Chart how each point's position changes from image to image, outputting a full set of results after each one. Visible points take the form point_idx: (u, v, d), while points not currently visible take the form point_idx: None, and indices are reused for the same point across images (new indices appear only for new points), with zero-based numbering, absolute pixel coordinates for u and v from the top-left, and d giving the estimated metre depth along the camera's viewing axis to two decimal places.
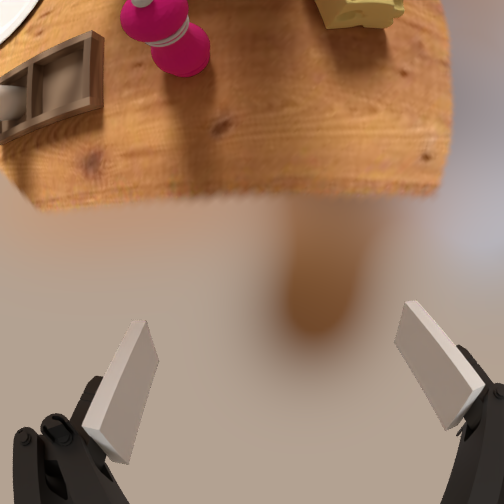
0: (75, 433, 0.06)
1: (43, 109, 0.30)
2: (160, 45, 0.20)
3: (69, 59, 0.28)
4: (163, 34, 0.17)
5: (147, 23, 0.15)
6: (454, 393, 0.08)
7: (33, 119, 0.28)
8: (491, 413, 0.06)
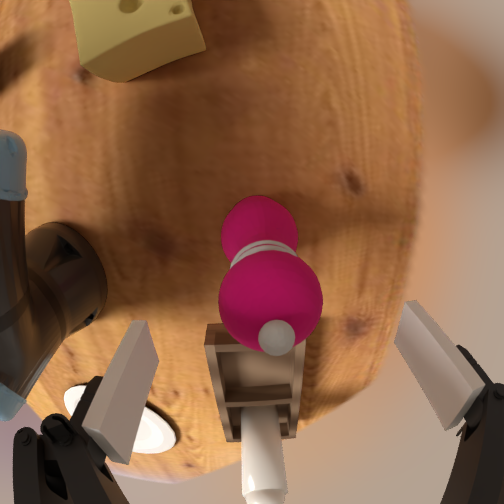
0: (75, 433, 0.06)
1: (280, 383, 0.39)
2: None
3: (229, 361, 0.37)
4: None
5: (314, 316, 0.14)
6: (454, 393, 0.08)
7: (294, 396, 0.36)
8: (491, 413, 0.06)
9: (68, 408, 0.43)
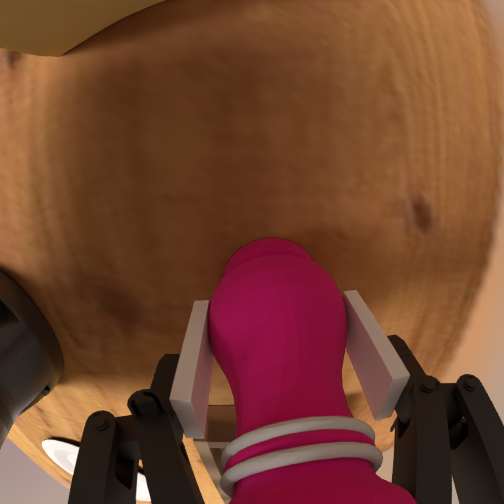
0: (164, 411, 0.08)
1: None
2: None
3: None
4: None
5: None
6: (379, 381, 0.09)
7: None
8: (421, 409, 0.07)
9: (48, 454, 0.31)
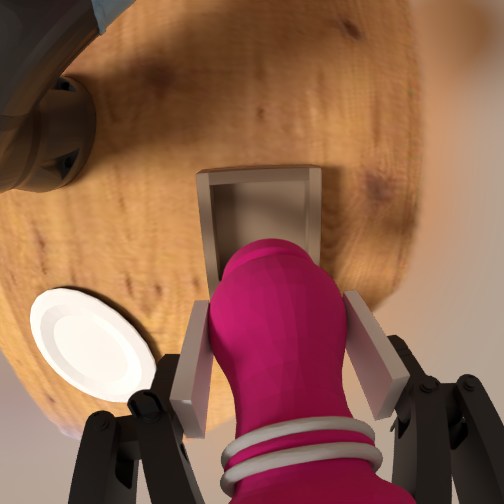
0: (164, 411, 0.08)
1: None
2: None
3: (226, 220, 0.31)
4: None
5: None
6: (379, 381, 0.09)
7: None
8: (421, 409, 0.07)
9: (34, 334, 0.37)
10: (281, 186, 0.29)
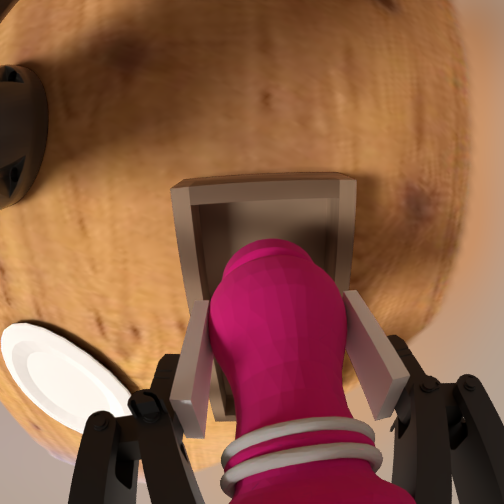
0: (164, 411, 0.08)
1: None
2: None
3: (217, 251, 0.22)
4: None
5: None
6: (379, 382, 0.09)
7: None
8: (421, 409, 0.07)
9: (8, 366, 0.28)
10: (296, 203, 0.21)
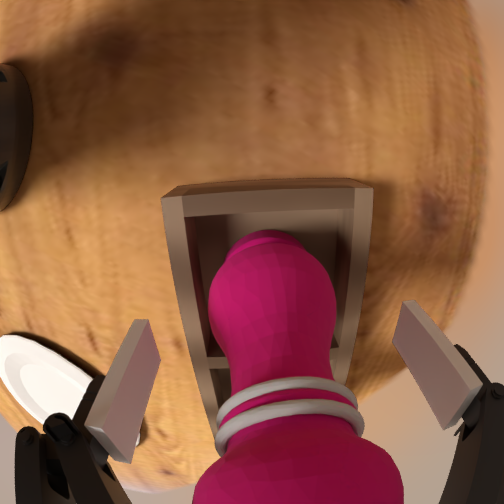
0: (78, 432, 0.06)
1: None
2: None
3: (216, 266, 0.20)
4: (402, 484, 0.05)
5: None
6: (452, 392, 0.08)
7: (343, 342, 0.19)
8: (489, 413, 0.06)
9: (2, 377, 0.26)
10: (303, 213, 0.19)
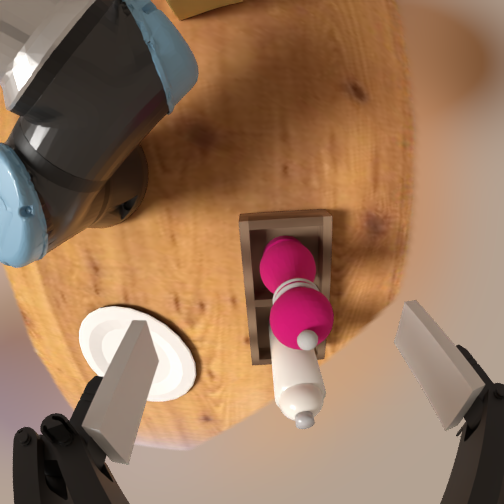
0: (75, 433, 0.06)
1: None
2: None
3: (259, 253, 0.40)
4: None
5: (328, 327, 0.24)
6: (454, 393, 0.08)
7: (323, 292, 0.39)
8: (491, 413, 0.06)
9: (82, 345, 0.47)
10: (301, 227, 0.39)
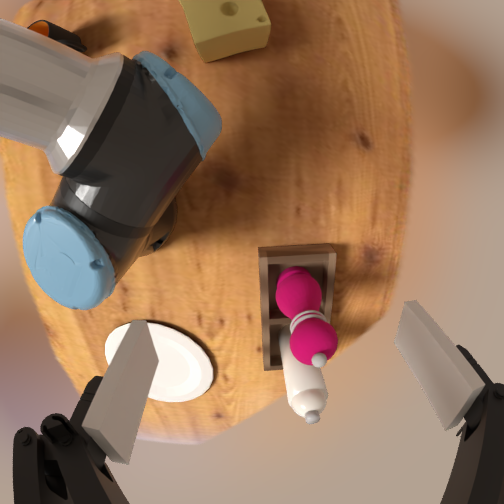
0: (75, 433, 0.06)
1: None
2: None
3: (273, 280, 0.48)
4: (336, 335, 0.33)
5: (334, 350, 0.31)
6: (454, 393, 0.08)
7: (326, 312, 0.47)
8: (491, 413, 0.06)
9: (107, 355, 0.54)
10: None
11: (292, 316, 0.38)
